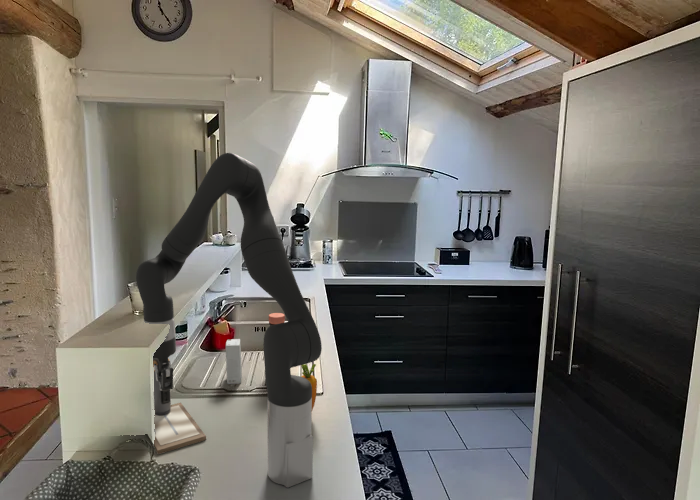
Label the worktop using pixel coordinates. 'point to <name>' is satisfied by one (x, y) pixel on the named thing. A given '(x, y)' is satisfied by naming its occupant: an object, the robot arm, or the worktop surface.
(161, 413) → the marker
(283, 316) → the bottle
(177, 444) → the writing board
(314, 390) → the carrot
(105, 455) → the worktop surface
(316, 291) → the worktop surface
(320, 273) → the worktop surface
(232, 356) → the skincare box
